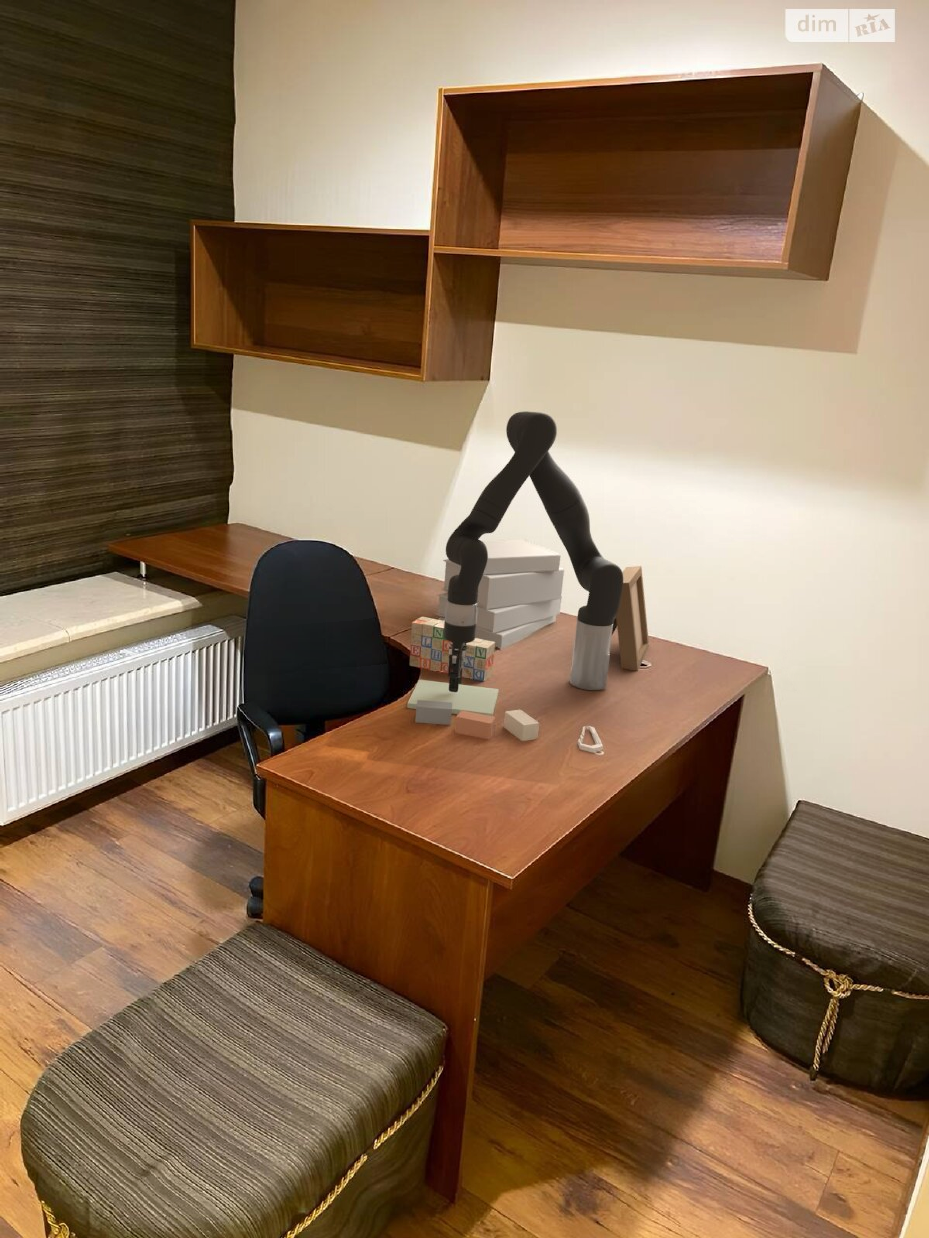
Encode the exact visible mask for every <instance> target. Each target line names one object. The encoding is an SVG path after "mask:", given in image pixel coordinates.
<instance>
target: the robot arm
mask: <svg viewBox="0 0 929 1238" xmlns="http://www.w3.org/2000/svg"><path fill="white" fill-rule="evenodd" d="M505 430H506V431H505V432H506V438H507V441H508V443H509V445H510V447H511V449H512V450H513V452H514V453H513V455H512V457H511V458H510V459H509V461H508V462H507V463H506V465H504V466H503V468H502V469H501V470H500V471H499V472H498V473H497V474H496V475H495V477H493V478H492V479H491V480H490V482H489V483H488V484H487V485H486V486H485V488H484V489H483V490H482V492H481V493H480V495H479V496H478V499H477V500H476V502H475V504H474V506H473V508H472V509H471V511H470V513H469V515H467V516H466V518H465V519H464V520H463V521H462V522H460V524H458V526H457V527H456V528H455V529H454V531H453V532H452V533H451V535H450V536H449V537H448V540H447V542H446V546H445V555H446V557H447V559H449V560H450V561H452V562H454V563H456V564H458V565H461V570H460V573H459V575H455V576H453V577H451V578H450V581H449V586H448V598H447V605H446V610H445V622H444V634H443V636H444V638H445V639H446V640H448V641H451V642H452V643H453V644H451V647H449V663H448V666H449V671H448V674H447V676H448V677H449V680H448V681H449V682H448V683H449V691H450V692H458V687H459V684H460V685H462V678H463V677H462V669H463V667H464V665H463V664H464V662H465V659H466V652H467V646H466V643H470V642H472V641H474V640H475V634H476V623H477V600H478V587H479V584H480V581H481V579H482V576H483V573H484V570H485V567H486V564H487V560H488V552H487V548H486V545H485V544H484V543H483V542H482V541H483V540H480V538H481V537H482V536H483V535H485V534H492V533H494V532H495V531H496V530H497V528H498V527H499V525H500V523H501V521H502V520H503V518H504V516H505V514H506V512H507V510H508V509H509V507H510V505H511V504H512V502H513V500H514V498H515V497H516V495H517V494H518V492H519V491H520V489H521V488H522V486H523V485H524V484H525V482H526V481H527V479H528V478H530V480H531V482H532V485H533V487H534V488H535V491H536V493H537V495H538V497H539V499H540V501H541V502H542V506H543V507H544V510H545V512H546V514H547V516H548V518H549V520H550V523H551V524H552V526H553V527H554V529H555V531H556V533H557V536H559V537H558V538H559V539H560V541H561V543H562V544H563V546H564V548H565V550H566V552H567V554H568V557H569V560H570V562H571V565H572V568H573V570H574V574H575V576H576V580H577V581H578V584H579V585H580V586H581V588H583V589H584V590H585V591H587V592H588V596H587V597H588V598H587V602H586V605H583V606H581V607H580V608H579V609H578V611H577V618H576V626H575V627H576V628H575V635H574V643H573V649H572V659H571V669H570V673H569V683H570V685H572V686H574V687H575V688H578V689H582V690H586V691H598V690H603V691H604V690H606V688H607V680H608V672H609V665H610V657H611V654H610V652H611V645H612V644H611V643H612V637H613V635H612V630H613V623H614V618H615V616H616V614H617V612H618V610H619V605H620V600H621V594H622V589H623V573H622V572H623V570H622V568H621V567H620V566H619V565H618V564H616V563H614V562H612V561H609V560H608V559H606V558H604V556H603V555H602V554H601V552H600V551H599V549H598V548H597V545H596V543H595V541H594V540H593V537H592V534H591V525H590V524H591V523H590V520H591V519H590V514H589V509H588V506H587V505H586V502H585V500H584V498H583V496H582V494H581V493H580V490H579V488H578V487H577V484H576V483H574V481H573V480H572V479H571V478H570V476H569V475H568V474H567V473H566V472H565V471H564V470H563V469H562V468H561V467H560V466H559V465H558V463H557V462H556V461H555V459H554V458H553V456H552V455H551V453H550V451H549V450H550V449H551V448H552V447H553V445H554V443H555V441H556V438H557V435H558V426H557V423H556V421H555V419H554V418H553V417H552V416H551V415H549V414H547V413H544V412H539V411H519V412H515V413H514V414H512V415H511V416H510V417H509V419H508V420H507V423H506V429H505ZM452 669H453V672H452Z"/></svg>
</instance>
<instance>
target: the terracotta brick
mask: <svg viewBox="0 0 929 1238" xmlns="http://www.w3.org/2000/svg"><path fill="white" fill-rule="evenodd" d="M496 718H497V717H496V716H494V715H493V716H488V715H483V714H478V713H473V712H467V711H462V710H461V712H460V713H459V714H456V716H455V726H454V733H455V734H460V735H463V736H471V737H475V738H480V739H486V740H490V739H491V738H492V737H493V735H494V734H495V729H496V728H495V727H496Z"/></svg>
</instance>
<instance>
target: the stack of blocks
mask: <svg viewBox="0 0 929 1238" xmlns="http://www.w3.org/2000/svg"><path fill="white" fill-rule="evenodd" d="M444 622H445V621H442V620H439V619H437V618H430V617H426V616H420V617H419V618H417V619H415V620H414V621H412V622H411V633H410V651H409V653H410V655H409V666H410V667H414V668H415V667H416V668H419V669H423V668H425V669H424V670H427V669H428V671H432V670H433V672H436V671H443V672H445V673H444V674H446V673H448V671H449V666H448V663H449V647H451V644H453V643H452V642H451V641H448V640H446V639H445V638H444V636H443V634H444ZM466 646H467V652H466V659H465V662H464V664H463V665H464V667H463V669H462V678H464V679H469V678H470V680H473V679H474V681H478V682H482V681H484V682H486V680H488V679H489V678H490V677H491V676H493V675H492V674H493V668H494V656H495V655H494V654H495V648H496V647H495V642H492V641H487V640H483V639H478V638H475V640H474V641H472V642H470V643H466ZM452 672H453V669H452ZM487 678H488V679H487Z"/></svg>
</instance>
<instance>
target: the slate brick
mask: <svg viewBox="0 0 929 1238" xmlns="http://www.w3.org/2000/svg"><path fill="white" fill-rule="evenodd" d="M452 715H453V714H452V703H451V702H438V701H425V700H417V706H416V709H415V722H414V723H420V724H430V725H431V724H433V725H444V726H446V725H447V726H451V724H452Z"/></svg>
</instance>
